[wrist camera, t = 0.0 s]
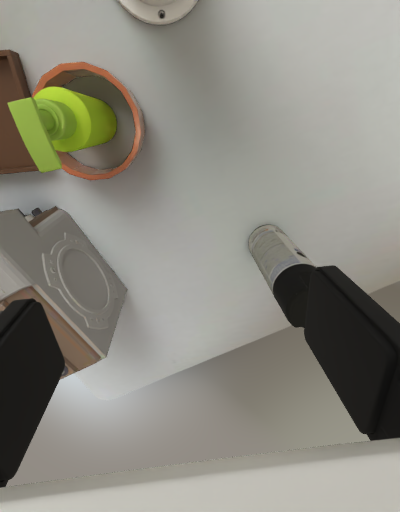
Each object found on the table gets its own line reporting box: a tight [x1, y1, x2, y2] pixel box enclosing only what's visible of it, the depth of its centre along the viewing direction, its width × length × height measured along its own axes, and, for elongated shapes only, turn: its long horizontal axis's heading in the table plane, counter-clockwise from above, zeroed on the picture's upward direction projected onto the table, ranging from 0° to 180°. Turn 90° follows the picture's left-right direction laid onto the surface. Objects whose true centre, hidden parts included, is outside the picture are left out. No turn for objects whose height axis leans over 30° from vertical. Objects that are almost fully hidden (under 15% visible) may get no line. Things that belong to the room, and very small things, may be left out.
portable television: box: [0, 206, 127, 379], centre depth 34 cm, size 12×24×30 cm, turn 28°
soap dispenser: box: [7, 87, 117, 173], centre depth 30 cm, size 6×7×20 cm
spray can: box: [249, 225, 316, 328], centre depth 40 cm, size 7×7×20 cm
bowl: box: [32, 62, 145, 180], centre depth 37 cm, size 13×13×5 cm
